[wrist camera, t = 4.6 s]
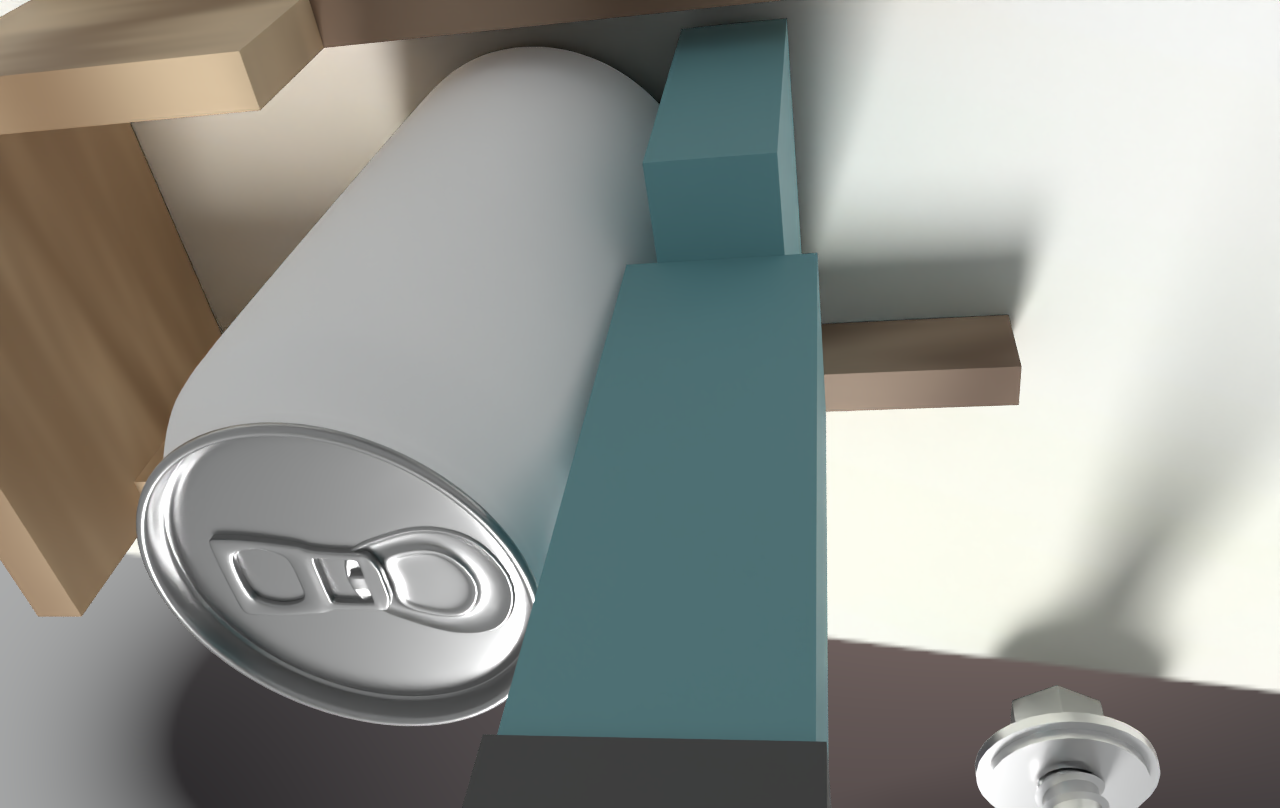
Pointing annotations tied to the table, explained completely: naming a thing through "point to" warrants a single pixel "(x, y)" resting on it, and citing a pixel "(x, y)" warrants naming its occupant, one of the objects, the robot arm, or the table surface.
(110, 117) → the wooden box
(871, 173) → the table surface
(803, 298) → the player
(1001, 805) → the screw
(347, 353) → the can
